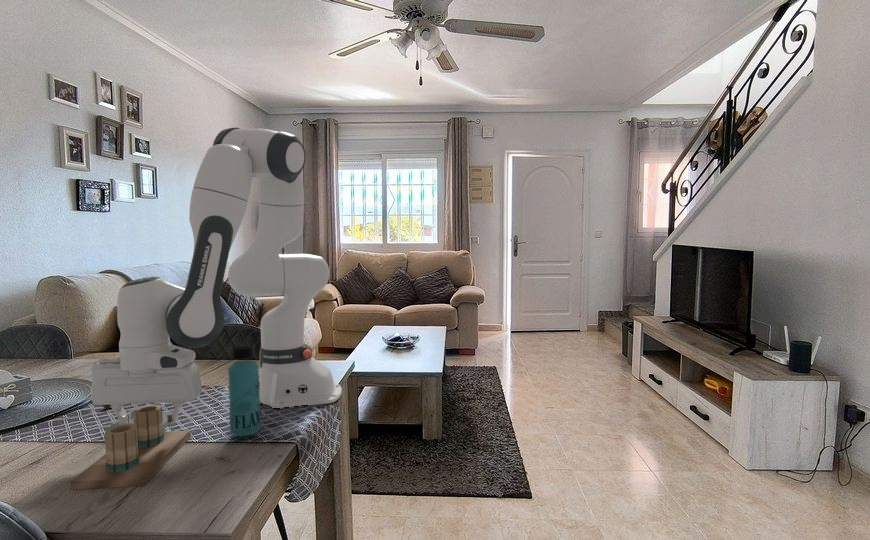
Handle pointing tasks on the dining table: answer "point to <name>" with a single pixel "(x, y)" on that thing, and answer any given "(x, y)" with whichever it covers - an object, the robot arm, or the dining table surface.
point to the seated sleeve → (121, 447)
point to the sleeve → (149, 425)
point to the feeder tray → (116, 423)
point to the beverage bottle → (244, 393)
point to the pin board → (137, 475)
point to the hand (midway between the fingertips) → (149, 422)
